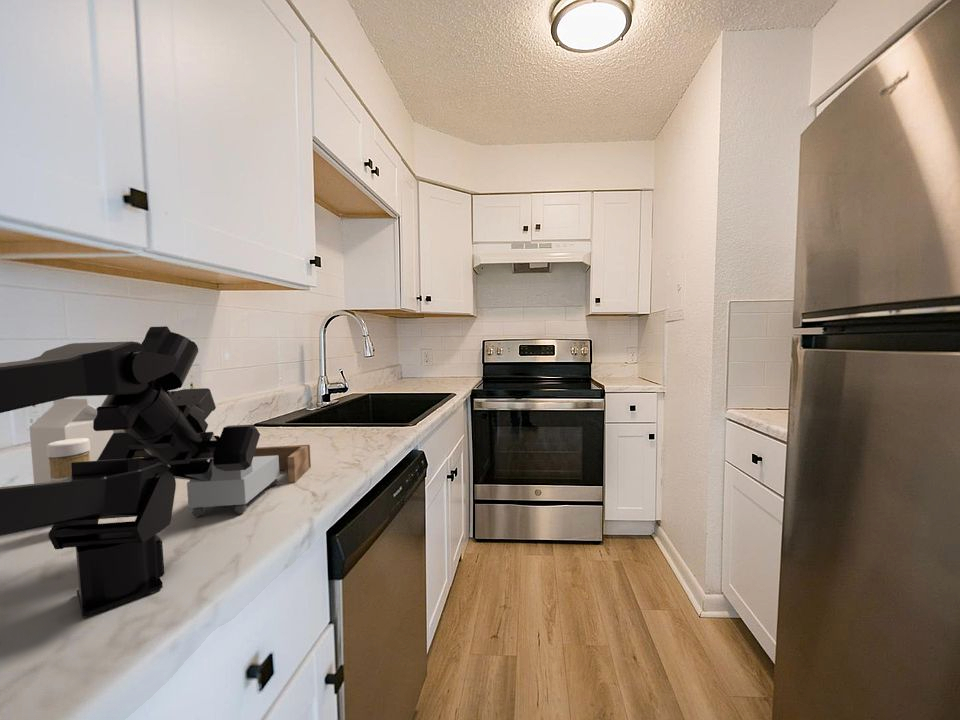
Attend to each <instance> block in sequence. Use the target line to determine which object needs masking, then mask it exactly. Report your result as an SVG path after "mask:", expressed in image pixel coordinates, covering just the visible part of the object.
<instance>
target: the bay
mask: <svg viewBox="0 0 960 720" xmlns="http://www.w3.org/2000/svg"><path fill="white" fill-rule="evenodd" d="M310 448H311V445H310V444H301V445H300V444H298V445H278V446H266V447H265V446H264V447H256V450H255V453H254V456H253V457H258V456H275V455H278V457H279V472H281V471H280V470H288V472H287V473H288V483H289V484H293V483H296V482H297V481H298V480H300V479H301V478H302V477H303V476H304V475H305V474H306V473H307V472H308V471H309V470H310V469H311V468H310V467H311V466H312V464H311V449H310ZM309 468H310V469H309ZM308 469H309V470H308ZM307 470H308V471H307ZM306 471H307V472H306ZM305 472H306V473H305ZM304 473H305V474H304ZM303 474H304V475H303ZM302 475H303V476H302Z"/></svg>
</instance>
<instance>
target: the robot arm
mask: <svg viewBox="0 0 960 720" xmlns="http://www.w3.org/2000/svg"><path fill="white" fill-rule="evenodd" d="M198 353H199V347H198V344H196V343H195V342H194V341H193V340H191V339H189V338H188V337H186V336H184V335H182V334H179V333H176V332H172V331H171V330H170V329H169V326H167V325H166V326H150V327H149V328H148V330H147V332H146V335H145V337H144V339H143V341H142V342H141V343H140V342H138V341H131V340H130V341H105V342H104V341H103V342H73V343H67V344H65V345H62V346H58V347H55V348H52V349H48V350H45V351H44V352H42V353H41V355H39V356H36V357H33V358H30V359H29V358H28V359H23V360H16V361H9V362H8V361H7V362H0V414H3V413H7V412H11V411H16V410H19V409H25V408H29V407H33V406H38V405H42V404H45V403H49V402H50V403H51V402H53V401H55V400H59V399H68V398H77V397H78V398H79V397H80V398H82V397H95V396H97V397H100V396H101V397H102V396H106V397H105V399H104V401H103V402H102V404H101V406H100V405H99V406H98V407H96V409H97V416H96V418H95V419H94V421H93V429H94V430H95V431H108V430H124V431H119V432H116V433H113V434H112V436H111V437H110V439H109V441H108V442H107V444H106V446H105V447H104V449H103V451H102V453H101V454H100V456H99V458H98V459H97V461H86V462H72V463H71V470H72V475H71V476H70V477H69V478H67V479H66V480H63V481H55V482H46V483H36V484H34V483H27V484H18V485H7V486H0V537H1V536H6V535H11V534H17V533H19V532H25V531H30V530H34V529H40V528H44V527H48V526H52V527H51V528H50V530H49V532H48V535H47V536H48V538H49V539H50V540H49V541H50V542H51V544H52V546H53V549H55V550H63V549H67V548H69V549H70V548H75V556H76V566H77V582H78V589H77V590H76V596H77V600H78V605H79V609H80V615H81V617H82V618H85V617H89V616H92V615H95V614H97V613H100V612H103V611H105V610H107V609H111V608H113V607H116V606H119V605H121V604H125V603H126V602H129V601H132V600H135V599H138V598H140V597H143V596H145V595H148V594H151V593H154V592H156V591H159V590H162V589H163V585H164V584H163V581H162V579H161V577H164V575H165V563H164V560H165V559H164V548H163V540H162V539H161V537H160V536H159V535H158V534H159V533H160V532H161V531H163V530H164V529H166V528H167V527H169V526H170V525H171V523H172V515H173V508H174V503H175V502H174V501H175V496H176V495H175V494H176V489H177V487H176V485H177V484H176V483H177V481H176V479H178V480H186V481H187V480H188V481H190V480H195V481H203V482H205V481H210V480H211V477H212V468H211V466H212V463H213V462H214V466H215V467H216V468H217V469H220V470H223V471H236V470H246V469H247V468H248V467H250V466H251V463H252V460H253V456H254V453H255V450H256V448H258V442H259V439H260V436H261V433H260V432H259V430H258V429H257V427H255V425H254V424H237V425H235V424H234V425H226V426H223V428H222V430H221V433H220V436H219V435H215V432H214V431H207V430H208V427H209V423H208V422H207V421H206V419H207V418H208V417H209V416H210V414H211V413H213V412H214V411H215V410H216V408H217V407H216V404H215V401H214V397H213V395H212V394H213V393H212V392H211V389H210V388H208V387H207V388H206V387H205V388H203V387H202V388H183V389H182V387H183V385H184V383H185V380H186V379H187V376H188V375H189V372H190V371H191V368H192V366H193V364H194V362H195V360H196V358H197V356H198ZM180 388H181V389H180ZM177 389H180V390H177ZM139 457H148V458H139ZM135 517H136V518H135ZM121 518H122V519H123V518H135V520H134V521H133V520H132V521H131V520H129V521H118V522H116V521H115V522H105V523H99V520H107V519H121Z"/></svg>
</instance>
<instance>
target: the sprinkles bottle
mask: <svg viewBox="0 0 960 720" xmlns="http://www.w3.org/2000/svg"><path fill="white" fill-rule="evenodd" d="M89 450H90V441H89V439H88V438H75V439H67V440H61V441H56V442H52V443H49V444H48V445H47V456H48V457H49V458H48V459H49V460H50V474H51V477H50V481H51V482H55V481H63V480H66V479H67V478H69V477H70V476H71V475H72V470H71V463H72V462H86V461H90V457H89V453H90V452H89Z"/></svg>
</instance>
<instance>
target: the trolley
mask: <svg viewBox="0 0 960 720" xmlns="http://www.w3.org/2000/svg"><path fill="white" fill-rule="evenodd" d="M211 468H212V477H211V480H210V481H205V482H203V481H195V480H188V482H187V483H186V491H187V505H188V507H187V508H188V509H192V510H191V514H192V516H194V517H195V518H199V517H200V516H202V515H203V514H204V513H205V509H204V508H209V507H223V506H235V507H234V512H235V513H236V514H239V515H241V514H243V513H244V512H246V510H247V504H248V503H249V502H250V501H251V500H253V499H254V498H255V497H256V496H257V495H259V494H260V493H261V492H262V491H263V490H265V488H267V487H268V486H273V487H274V486H276V485H277V484H278V482H279V479H278V478H279V477H280V474H281V473H280V471H279V457H278V455H275V456H258V457H253V460H252V463H251V466H250V467H248V468H247V469H246V470H236V471H223V470H220V469H217V468H216V467H215V466H214V462H213V463H212V466H211Z"/></svg>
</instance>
